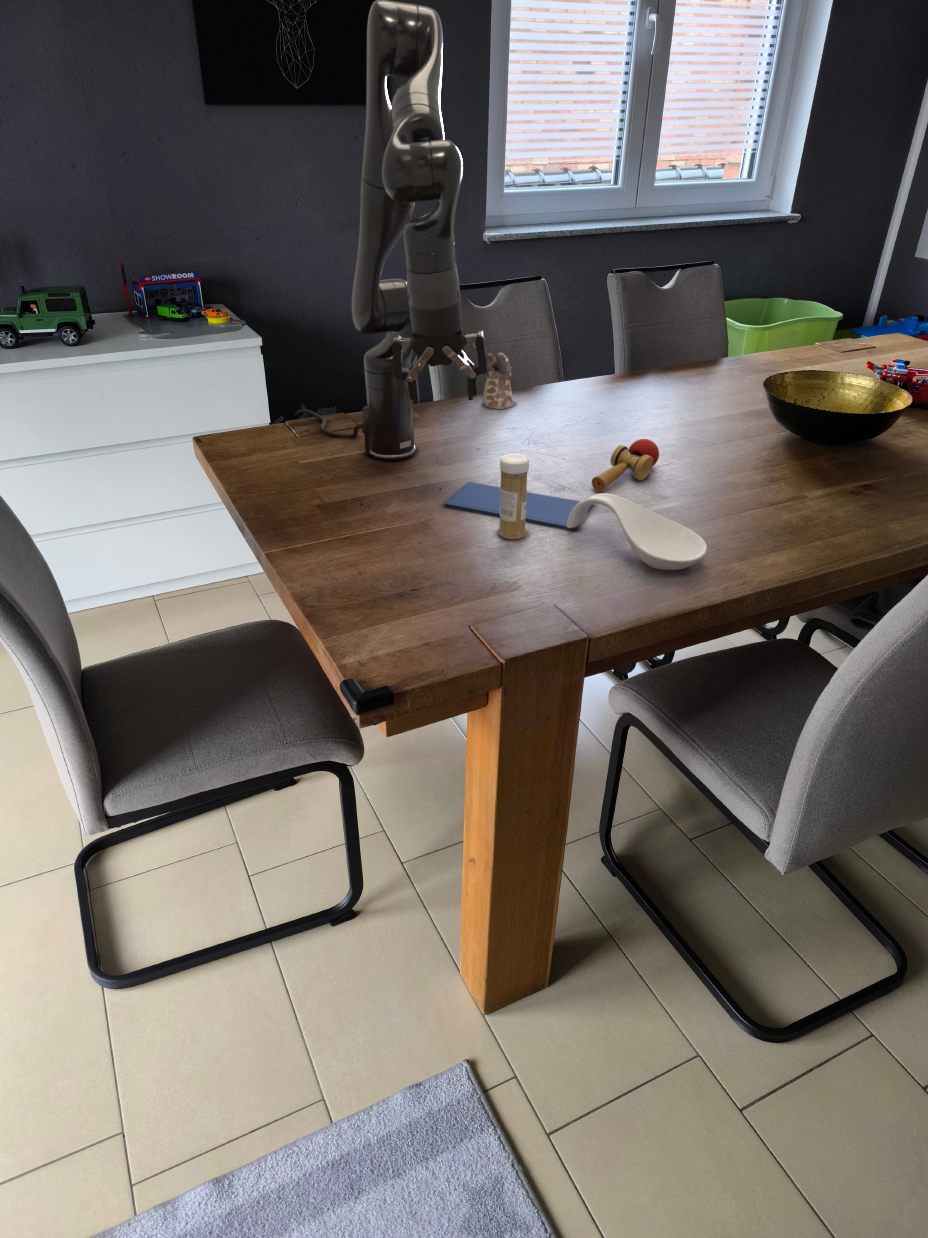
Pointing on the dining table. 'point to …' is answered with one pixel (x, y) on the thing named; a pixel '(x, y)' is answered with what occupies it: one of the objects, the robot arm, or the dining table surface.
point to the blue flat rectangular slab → (537, 505)
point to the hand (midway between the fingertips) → (443, 399)
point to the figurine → (498, 383)
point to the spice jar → (513, 495)
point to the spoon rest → (647, 533)
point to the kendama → (629, 463)
